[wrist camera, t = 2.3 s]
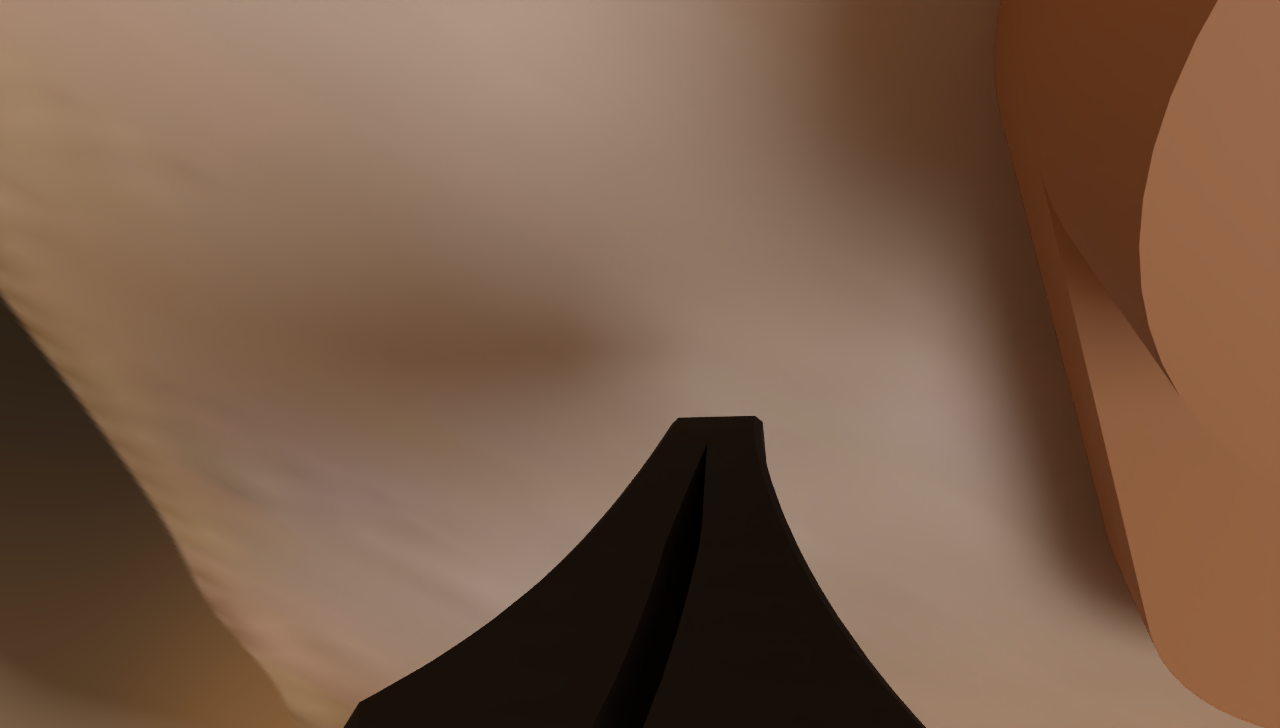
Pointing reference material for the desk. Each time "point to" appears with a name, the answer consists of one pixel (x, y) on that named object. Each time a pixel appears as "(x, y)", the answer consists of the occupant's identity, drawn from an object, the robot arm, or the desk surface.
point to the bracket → (1166, 302)
